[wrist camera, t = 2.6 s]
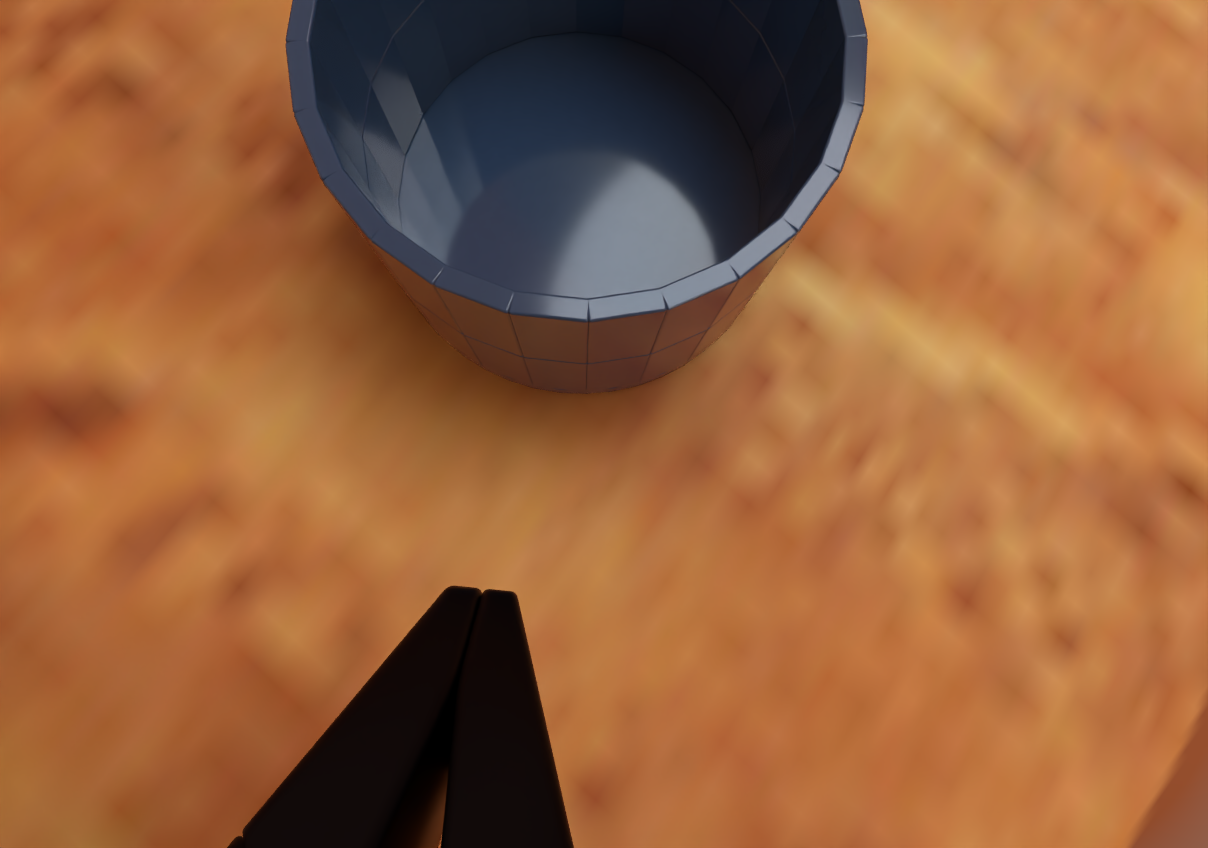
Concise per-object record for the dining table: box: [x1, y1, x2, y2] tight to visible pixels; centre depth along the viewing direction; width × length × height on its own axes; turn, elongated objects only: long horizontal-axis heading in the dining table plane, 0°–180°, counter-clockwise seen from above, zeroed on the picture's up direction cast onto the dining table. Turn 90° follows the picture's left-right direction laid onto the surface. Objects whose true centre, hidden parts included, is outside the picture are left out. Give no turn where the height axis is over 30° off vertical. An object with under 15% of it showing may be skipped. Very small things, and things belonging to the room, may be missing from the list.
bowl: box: [286, 0, 868, 394], centre depth 19 cm, size 12×12×8 cm
